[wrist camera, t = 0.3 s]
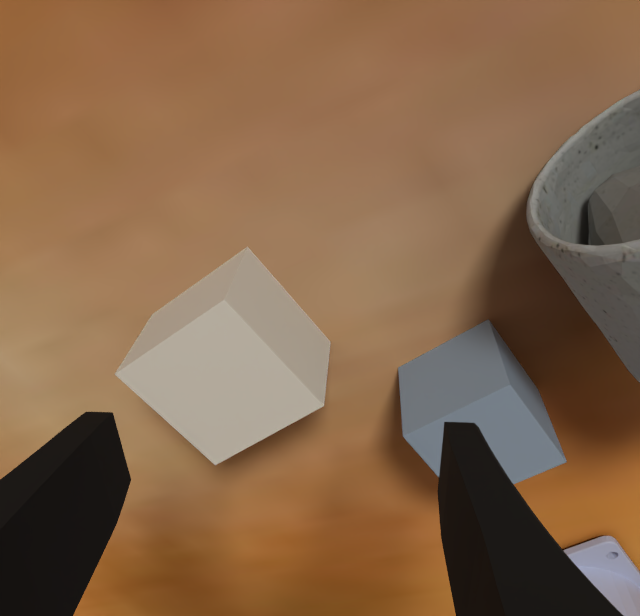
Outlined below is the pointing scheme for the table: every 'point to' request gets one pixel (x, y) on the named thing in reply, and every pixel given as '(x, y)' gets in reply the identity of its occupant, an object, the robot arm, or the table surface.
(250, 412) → the cream block
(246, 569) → the table surface
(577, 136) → the ceramic mug
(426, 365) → the blue cube
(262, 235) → the table surface
